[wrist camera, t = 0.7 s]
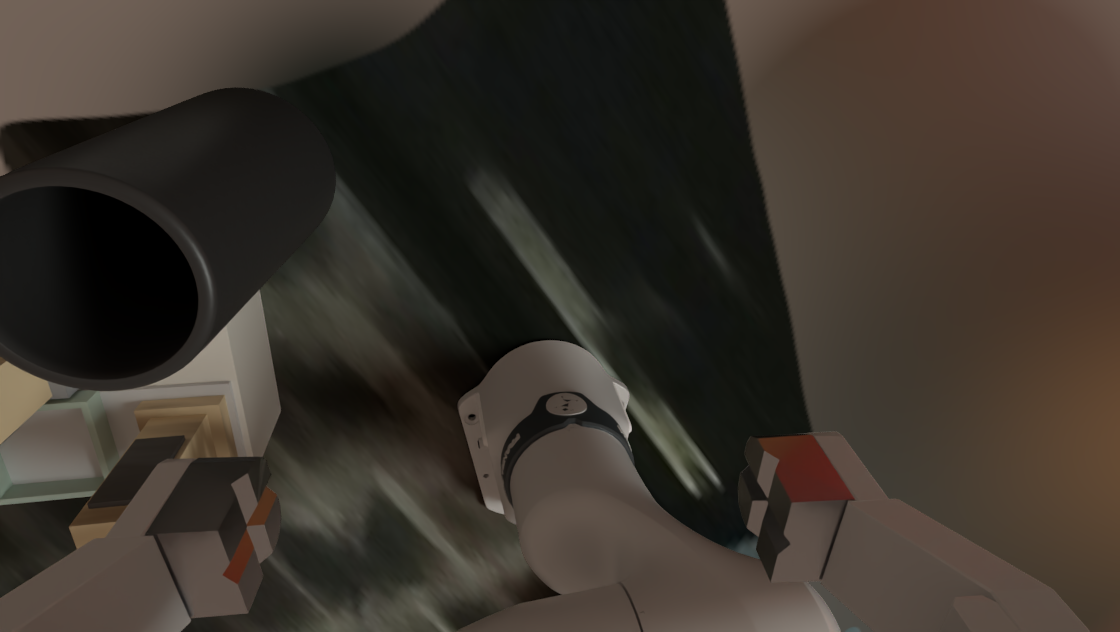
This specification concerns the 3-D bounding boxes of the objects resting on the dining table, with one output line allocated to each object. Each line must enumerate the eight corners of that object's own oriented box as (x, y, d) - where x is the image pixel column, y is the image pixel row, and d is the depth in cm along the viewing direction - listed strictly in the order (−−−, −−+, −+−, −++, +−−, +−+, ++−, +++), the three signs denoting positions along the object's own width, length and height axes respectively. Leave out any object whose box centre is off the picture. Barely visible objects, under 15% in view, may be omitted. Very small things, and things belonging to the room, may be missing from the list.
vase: (312, 77, 51) (191, 107, 25) (352, 234, 57) (288, 391, 31) (137, 99, 50) (-187, 155, 23) (197, 259, 55) (-11, 447, 29)
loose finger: (238, 456, 52) (179, 581, 40) (159, 463, 51) (75, 594, 39) (224, 394, 50) (158, 507, 37) (141, 400, 48) (46, 518, 36)
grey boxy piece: (281, 410, 62) (203, 602, 41) (69, 426, 59) (-140, 646, 37) (256, 269, 56) (148, 406, 35) (18, 278, 53) (-265, 436, 31)
